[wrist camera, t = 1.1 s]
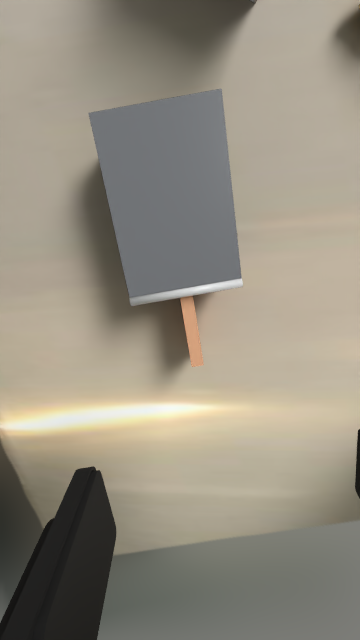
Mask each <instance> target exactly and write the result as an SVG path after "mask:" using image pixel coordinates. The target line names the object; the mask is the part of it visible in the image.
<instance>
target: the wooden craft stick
mask: <svg viewBox="0 0 360 640" xmlns="http://www.w3.org/2000/svg"><path fill="white" fill-rule="evenodd" d="M180 301H181V307H182V313H183V319H184V324H185V330H186V336H187V342H188V348H189V354H190V359H191V365H192V367H195V366H201V365H204V364H203V357H202V351H201V345H200V338H199V332H198V326H197V319H196V313H195V307H194V300H193V296H187V297H181V298H180Z"/></svg>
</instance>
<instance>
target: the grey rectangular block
mask: <svg viewBox="0 0 360 640" xmlns="http://www.w3.org/2000/svg"><path fill="white" fill-rule="evenodd" d="M89 117H90V122H91V126H92V131H93V135H94V140H95V144H96V149H97V153H98V158H99V162H100V167H101V171H102V176H103V180H104V185H105V189H106V194H107V198H108V203H109V207H110V212H111V217H112V221H113V226H114V230H115V235H116V239H117V244H118V248H119V253H120V257H121V262H122V266H123V271H124V275H125V280H126V284H127V289H128V293H129V298H130V304H131V306H135V305H141V304H147V303H152V302H158V301H164V300H170V299H176V298H181V297H187V296H193V295H199V294H205V293H210V292H216V291H222V290H228V289H234V288H239V287H242V286H243V282H242V279H241V268H240V259H239V249H238V240H237V231H236V221H235V212H234V202H233V193H232V183H231V174H230V164H229V155H228V146H227V136H226V127H225V117H224V108H223V98H222V89H217V90H211V91H206V92H200V93H195V94H189V95H184V96H179V97H173V98H168V99H162V100H157V101H151V102H146V103H140V104H135V105H130V106H124V107H119V108H113V109H108V110H102V111H97V112H91V113H89Z"/></svg>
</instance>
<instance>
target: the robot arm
mask: <svg viewBox="0 0 360 640" xmlns="http://www.w3.org/2000/svg"><path fill="white" fill-rule="evenodd" d="M355 489H356V492H357V494H358V496H359V498H360V429H359V430H358V440H357V461H356V482H355ZM115 540H116V525H115V522H114V518H113V514H112V511H111V507H110V503H109V500H108V496H107V493H106V489H105V485H104V482H103V478H102V474H101V472H100V470H98V471H96V469H95V467H88V468H81V469H77V470H76V471H75V473H74V475H73V478H72V480H71V482H70V484H69V487H68V489H67V491H66V493H65V496H64V498H63V500H62V502H61V505H60V507H59V509H58V511H57V514H56V516H55V518H53V519H51V520H50V521H49V522H48V523H47V525H46V526H45V528H44V530H43V532H42V535H41V537H40V539H39V541H38V543H37V545H36V547H35V549H34V552H33V554H32V556H31V558H30V560H29V562H28V565H27V567H26V569H25V571H24V573H23V575H22V577H21V580H20V582H19V584H18V586H17V588H16V590H15V592H14V595H13V597H12V599H11V601H10V604H9V605H8V608H7V610H6V612H5V614H4V616H3V618H2V621H1V623H0V640H97V636H98V630H99V625H100V620H101V614H102V609H103V603H104V599H105V593H106V588H107V582H108V577H109V572H110V567H111V561H112V556H113V551H114V546H115Z"/></svg>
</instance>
